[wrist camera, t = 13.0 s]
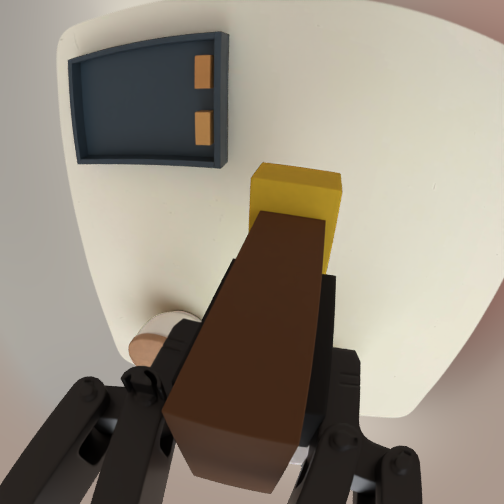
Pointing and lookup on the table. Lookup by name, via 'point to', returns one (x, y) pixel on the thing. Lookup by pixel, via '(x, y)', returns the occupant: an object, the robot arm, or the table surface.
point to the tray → (149, 102)
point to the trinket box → (155, 336)
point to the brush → (259, 336)
